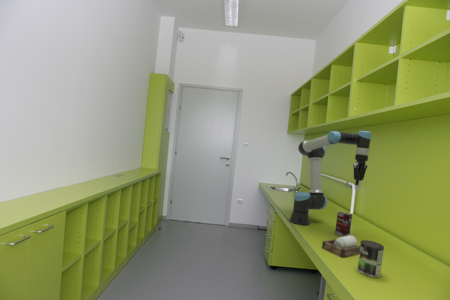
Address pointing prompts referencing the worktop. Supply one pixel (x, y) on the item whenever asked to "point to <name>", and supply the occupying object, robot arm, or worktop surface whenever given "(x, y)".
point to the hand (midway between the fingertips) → (357, 189)
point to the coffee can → (370, 258)
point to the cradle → (338, 251)
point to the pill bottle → (346, 242)
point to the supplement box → (343, 224)
